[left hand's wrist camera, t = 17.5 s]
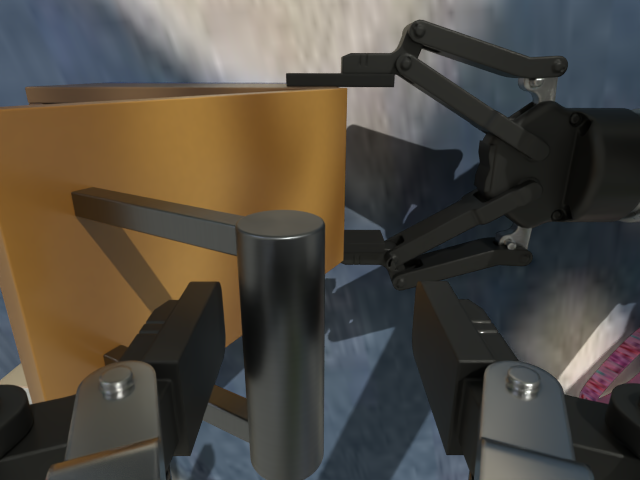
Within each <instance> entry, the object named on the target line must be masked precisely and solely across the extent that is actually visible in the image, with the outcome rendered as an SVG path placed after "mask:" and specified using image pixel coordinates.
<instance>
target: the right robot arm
mask: <svg viewBox="0 0 640 480" xmlns="http://www.w3.org/2000/svg"><path fill="white" fill-rule="evenodd" d="M421 49H424V50H427V51H430V52H433V53H436V54H439V55H442V56H445V57H448V58H451V59H453V60H456V61H459V62H462V63H465V64H468V65H471V66H474V67H477V68H480V69H483V70H486V71H489V72H492V73H495V74H498V75H501V76H505V77H511V78H518V85H519V87H520V89H521V90H523V91H527V92H529V93H531V95H532V97H533V102H531V103H529V104H528V105H526V106H525V107H523V108H522V109H520V110H519V111H517V112H516V113H514V114H513V115H511V116H510V117H508V118H507V117H506V116H504V115H503V114H501V113H500V112H498V111H496V110H494V109H492V108H491V107H489V106H488V105H486V104H485V103H483V102H482V101H480V100H479V99H477V98H476V97H474V96H473V95H471V94H470V93H468V92H467V91H465V90H464V89H462V88H461V87H459V86H458V85H456V84H455V83H453V82H452V81H450V80H449V79H447V78H446V77H444V76H443V75H441V74H440V73H438V72H437V71H435V70H434V69H432V68H431V67H429V66H428V65H426V64H425V63H423V62H422V61H420V60H419V59H418V56H419V54H420V51H421ZM567 67H568V62H567V60H566V58H564V57H563V56H548V57H528V56H525V55H522V54H519V53H516V52H514V51H511V50H508V49H505V48H502V47H499V46H496V45H493V44H491V43H488V42H485V41H482V40H479V39H476V38H473V37H470V36H467V35H465V34H462V33H459V32H456V31H453V30H450V29H447V28H444V27H441V26H439V25H436V24H433V23H430V22H427V21H424V20H417V21H414V22H413V23H411V24H409V25H407V26H406V27H405V28H404V30H403V33H402V37H401V40H400V42H399V45H398V47H397V49H396V50H395V51H394V52H392V53H350V54H348V55H345V56H343V57H341V73H286V86H337V87H394V76H395V75H398V76H399V77H401V78H402V79H404V80H405V81H407V82H408V83H410V84H412V85H413V86H415V87H416V88H418V89H419V90H421V91H422V92H424V93H425V94H427V95H428V96H430V97H431V98H433V99H434V100H436V101H437V102H439V103H441V104H442V105H444V106H445V107H447V108H448V109H450V110H451V111H453V112H454V113H456V114H457V115H459V116H460V117H462V118H463V119H465V120H466V121H468V122H469V123H471V124H472V125H473V126H475V127H476V128H478V129H479V130H481V131H482V132H484V133H485V134H486V135H485V137H484V139H483V141H480V143H479V151H478V152H479V159H480V165H479V167H478V170H477V172H476V175H475V183H474V185H475V186H476V187H477V189H475V190H473V191H472V192H470V193H468V194H466V195H464V196H463V197H462V199H461V200H460V201H458V202H456V203H455V204H453V205H451V206H449V207H447V208H445V209H443V210H441V211H440V212H438V213H436V214H434V215H432V216H430V217H428V218H427V219H425V220H423V221H421V222H419V223H417V224H415V225H413V226H412V227H410V228H408V229H406V230H404V231H402V232H400V233H398V234H397V235H395V236H393V237H391V238H389V239H387V240H385V241H384V239H383V236H382V234H381V231H380V230H344V253H343V261H342V262H341V263H342V264H345V265H353V264H354V265H359V264H360V265H382V266H384V267H386V269H387V270H388V272H389V275H390V278H391V281H392V284H393V286H394V288H395V289H397V290H405V289H409V288H413V287H416V286H417V283H418V281H440V280H443V279H447V278H451V277H455V276H459V275H462V274H466V273H470V272H474V271H477V270H481V269H485V268H489V267H493V266H496V265H509V266H526V265H528V264H529V263H530V262H531V261H532V258H533V256H532V253H531V252H530V251H528V250H527V247H528V243H529V239H530V234H531V230H532V228H534V227H537V226H539V225H541V224H543V223H546V222H552V221H554V222H614V221H618V220H619V221H622V222H640V109H633V110H629V109H625V108H565V107H563V106H561V105H559V104H558V103H556V102H555V95H556V87H557V79H558V77H560V76H562V75H563V74H564V73H565V72H566V70H567ZM503 215H505V216H506V217H507V218H509V219H510V220H511V221H512V222H513V224H512V226H511V227H510V228H509V229H508V230H505V231H501V232H497V233H496V235H495V237H490V238H482V239H477V240H474V241H470V242H466V243H463V244H459V245H455V246H452V247H448V248H444V249H441V250H437V251H433V252H429V253H426V254H423V253H424V252H426V251H428V250H430V249H432V248H434V247H436V246H438V245H440V244H442V243H444V242H446V241H448V240H450V239H451V238H453V237H455V236H457V235H459V234H461V233H463V232H465V231H467V230H469V229H471V228H473V227H475V226H477V225H480V224H487V223H489V222H491V221H493V220H495V219H497V218H499V217H501V216H503ZM421 254H422V255H421Z"/></svg>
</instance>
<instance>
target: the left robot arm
mask: <svg viewBox="0 0 640 480" xmlns="http://www.w3.org/2000/svg"><path fill="white" fill-rule="evenodd" d="M225 345H226V332H225V321H224V309H223V297H222V288H221V284H220V282H219V281H192V282H190V283H189V284H188V286H187V287H186V289H185V290H184V292H183V294H182V295H181V297H180V298H179V300H168V301H167V302H165V303H164V304H162V305H161V306H159V307H158V308H156V309H155V310H154V311H153V312H152V314H151V315H150V316H149V318H148V319H147V321H146V324H144V325H143V326H142V328H141V329H140V331H139V334H137V335H136V336H135V338H134V339H133V341H132V342H131V344H130V345H129V347H128V348H127V349H126V351H125V352H124V354H123V355H122V357H121V358H120V359H119V361H118V362H116V363H112V364H109V365H106V366H103V367H101V368H99V369H97V370H95V371H94V372H92V373H91V374H89V375H88V376H87V377H86V378H84V379H83V381H82V382H81V383H80V384H79V386H78V388H77V392H76V394H74V395H71V396H67V397H63V398H58V399H54V400H49V401H44V402H39V403H34V404H29V400H28V397H27V393H26V391H25V390H24V389H23V388H21V387H19V386H16V385H9V384H5V385H0V480H172V476H171V470H170V462H171V460H172V457H173V456H190V455H191V452H192V450H193V447H194V444H195V441H196V438H197V435H198V432H199V429H200V426H201V423H202V420H203V417H204V414H205V411H206V408H207V405H208V402H209V399H210V396H211V393H212V390H213V387H214V384H215V381H216V378H217V376H218V373H219V370H220V367H221V364H222V361H223V358H224V353H225ZM412 347H413V354H414V358H415V361H416V364H417V367H418V370H419V373H420V376H421V379H422V382H423V385H424V388H425V391H426V394H427V397H428V400H429V404H430V407H431V410H432V413H433V416H434V419H435V422H436V425H437V428H438V431H439V434H440V437H441V440H442V443H443V446H444V449H445V452H446V455H464V457H465V460H466V462H467V465H468V468H469V476H468V480H640V384H638V383H626V384H621V385H618V386H616V387H615V388H614V389H613V390H612V393H611V396H610V400H609V403H608V404H606V403H601V402H596V401H591V400H587V399H582V398H577V397H572V396H568V395H565V394H564V392H563V388H562V386H561V384H560V383H559V382H558V381H557V379H556V378H554V377H553V376H552V375H551V374H549V373H548V372H546V371H545V370H543V369H541V368H539V367H537V366H534V365H531V364H528V363H524V362H519V361H518V359H517V358H516V356H515V355H514V353H513V352H512V350H511V349H510V348H509V346H508V345H507V343H506V342H505V340H504V339H503V337H502V336H501V335H500V333H498V330H497V329H496V327H495V326H494V324H493V323H491V320H490V319H489V317H488V316H487V314H486V313H485V311H484V310H483V309H482V308H480V307H479V306H477V305H476V304H474V303H473V302H471V301H470V300H468V299H458V298H457V296H456V294H455V293H454V291H453V289H452V288H451V286H450V284H449V283H448V282H447V281H418V283H417V286H416V293H415V305H414V317H413V329H412Z"/></svg>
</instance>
